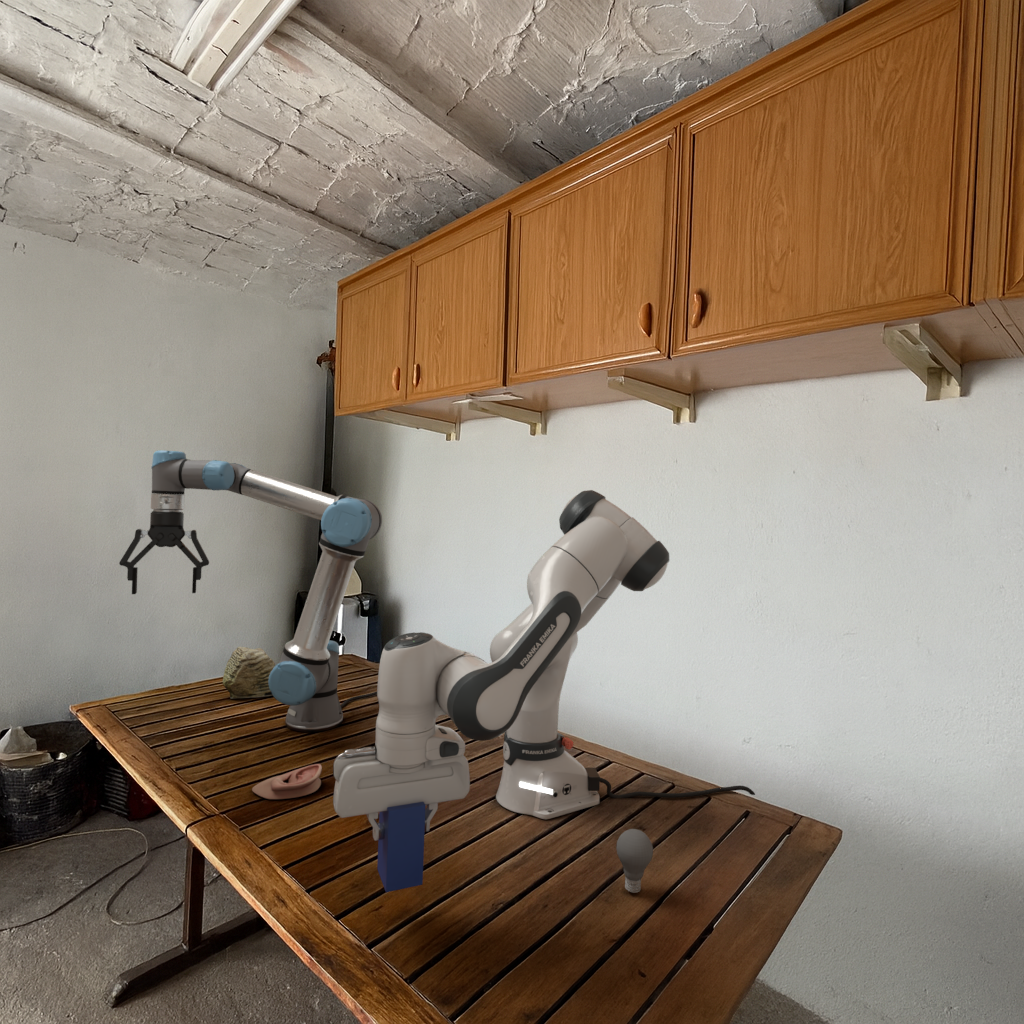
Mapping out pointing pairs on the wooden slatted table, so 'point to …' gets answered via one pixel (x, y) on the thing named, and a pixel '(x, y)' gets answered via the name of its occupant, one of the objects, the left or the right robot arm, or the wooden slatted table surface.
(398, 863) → the block
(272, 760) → the wooden slatted table surface
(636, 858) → the light bulb
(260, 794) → the anatomical model
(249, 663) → the fossil
